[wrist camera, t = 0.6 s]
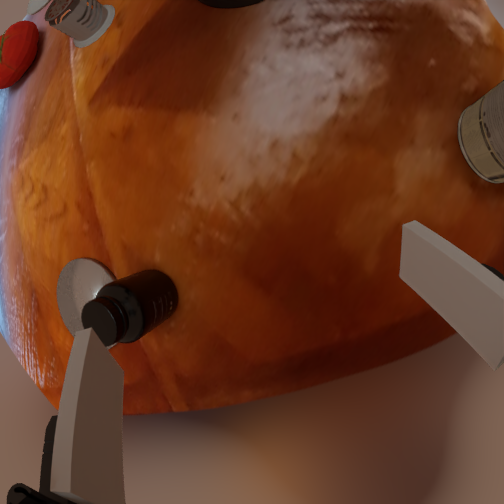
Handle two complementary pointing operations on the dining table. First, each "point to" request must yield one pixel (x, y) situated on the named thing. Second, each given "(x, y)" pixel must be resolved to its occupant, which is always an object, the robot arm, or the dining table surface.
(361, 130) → the dining table surface
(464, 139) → the coffee can
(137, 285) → the supplement bottle
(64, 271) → the hub disc
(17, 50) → the tomato
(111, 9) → the french press
